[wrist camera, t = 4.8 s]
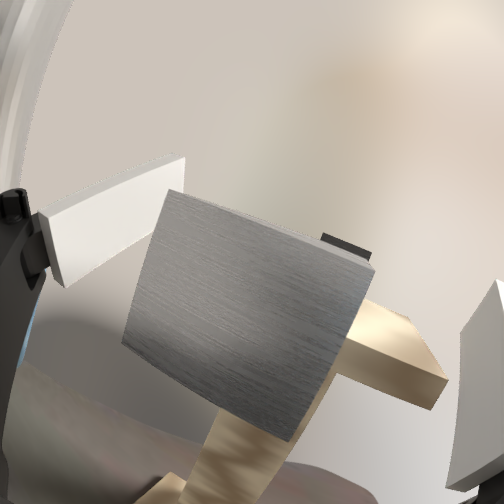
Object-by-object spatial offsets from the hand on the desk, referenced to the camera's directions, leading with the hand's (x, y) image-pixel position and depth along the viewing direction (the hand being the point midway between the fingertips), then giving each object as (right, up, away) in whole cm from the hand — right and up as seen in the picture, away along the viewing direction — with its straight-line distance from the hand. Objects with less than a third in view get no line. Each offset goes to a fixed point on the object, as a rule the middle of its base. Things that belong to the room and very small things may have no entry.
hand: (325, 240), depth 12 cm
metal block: (0, -3, +4) cm, 5 cm away
